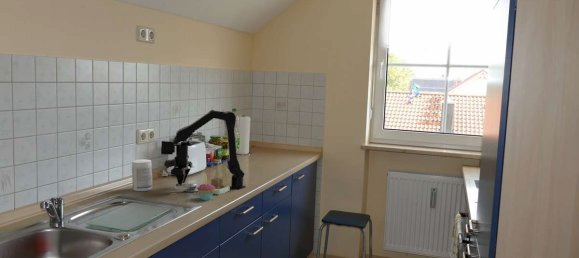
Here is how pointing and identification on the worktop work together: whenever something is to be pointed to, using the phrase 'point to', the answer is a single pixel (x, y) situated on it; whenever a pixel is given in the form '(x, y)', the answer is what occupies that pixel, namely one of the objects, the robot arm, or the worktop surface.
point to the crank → (186, 186)
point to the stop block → (217, 183)
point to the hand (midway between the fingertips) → (181, 184)
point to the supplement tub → (142, 175)
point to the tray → (222, 190)
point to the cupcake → (206, 190)
